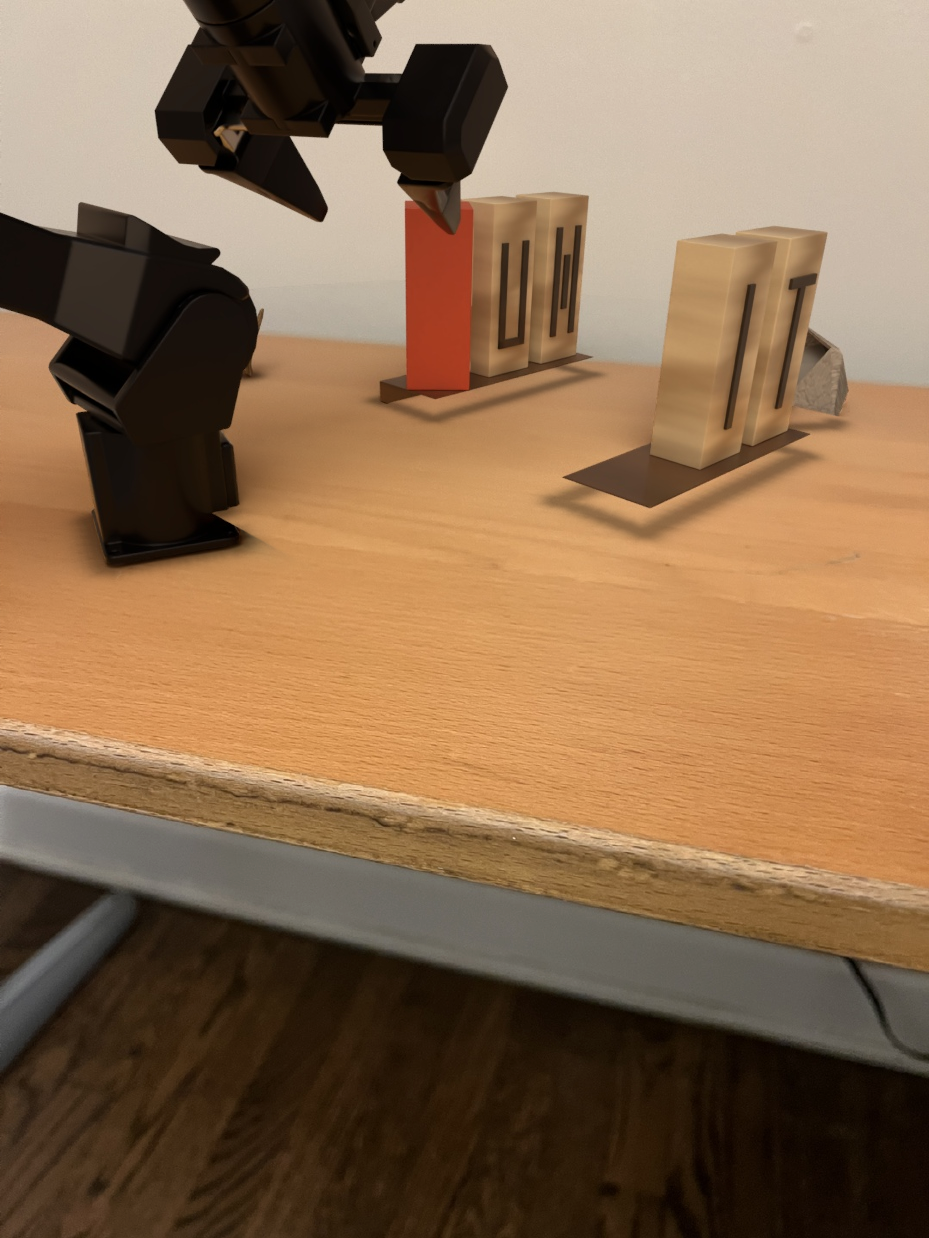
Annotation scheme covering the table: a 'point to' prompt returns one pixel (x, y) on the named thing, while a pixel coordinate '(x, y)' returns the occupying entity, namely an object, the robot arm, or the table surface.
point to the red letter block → (438, 300)
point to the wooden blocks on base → (520, 289)
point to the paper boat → (821, 376)
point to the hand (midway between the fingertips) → (387, 221)
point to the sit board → (723, 362)
